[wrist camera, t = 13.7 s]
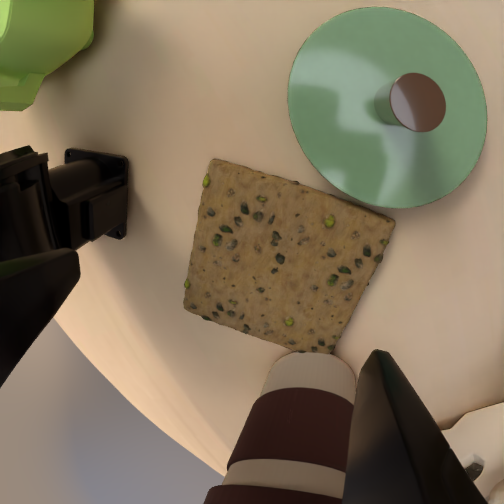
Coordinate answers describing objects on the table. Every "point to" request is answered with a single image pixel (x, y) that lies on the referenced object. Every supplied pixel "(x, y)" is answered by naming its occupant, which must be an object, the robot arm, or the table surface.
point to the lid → (387, 107)
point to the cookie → (280, 258)
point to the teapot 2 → (38, 44)
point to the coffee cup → (294, 436)
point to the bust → (497, 494)
